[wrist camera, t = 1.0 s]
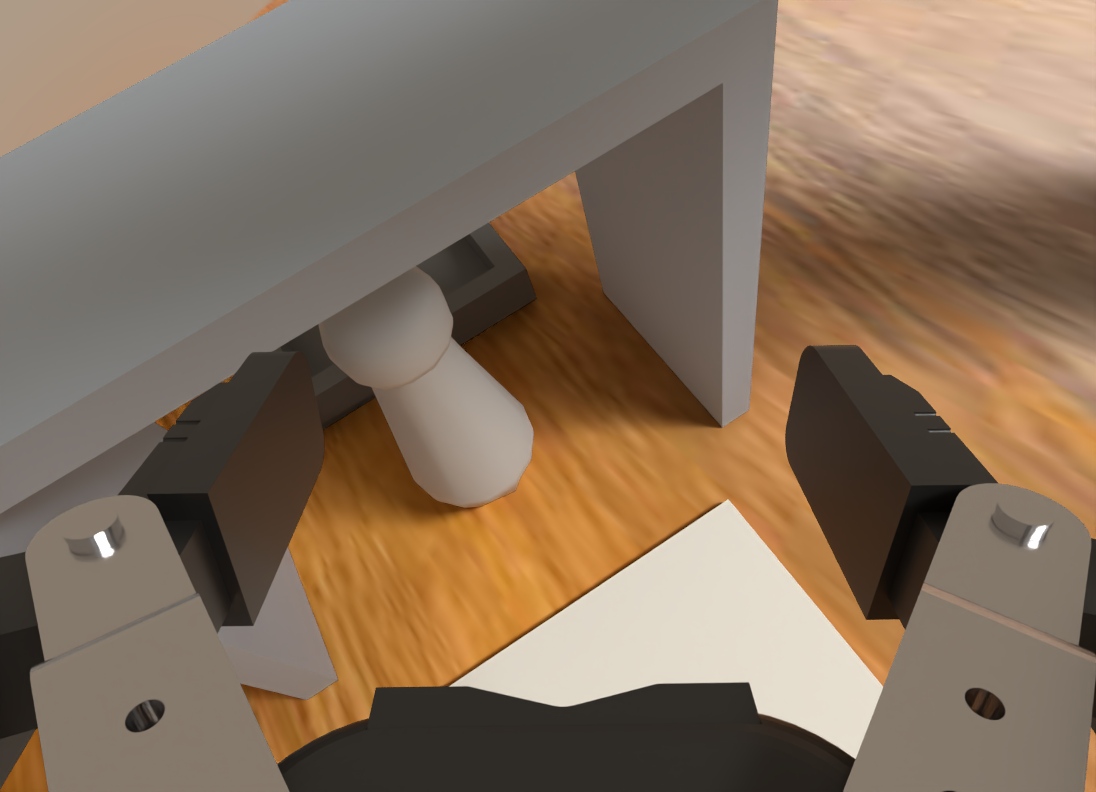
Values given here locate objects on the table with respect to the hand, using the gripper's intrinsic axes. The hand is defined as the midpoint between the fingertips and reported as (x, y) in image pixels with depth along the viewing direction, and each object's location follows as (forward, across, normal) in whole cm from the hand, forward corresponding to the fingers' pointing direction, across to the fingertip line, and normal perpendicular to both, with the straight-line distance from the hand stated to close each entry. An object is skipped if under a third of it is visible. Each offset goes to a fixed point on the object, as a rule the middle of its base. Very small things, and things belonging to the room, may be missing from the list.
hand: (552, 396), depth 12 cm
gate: (+17, +3, +14) cm, 22 cm away
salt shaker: (+17, +3, +14) cm, 22 cm away
